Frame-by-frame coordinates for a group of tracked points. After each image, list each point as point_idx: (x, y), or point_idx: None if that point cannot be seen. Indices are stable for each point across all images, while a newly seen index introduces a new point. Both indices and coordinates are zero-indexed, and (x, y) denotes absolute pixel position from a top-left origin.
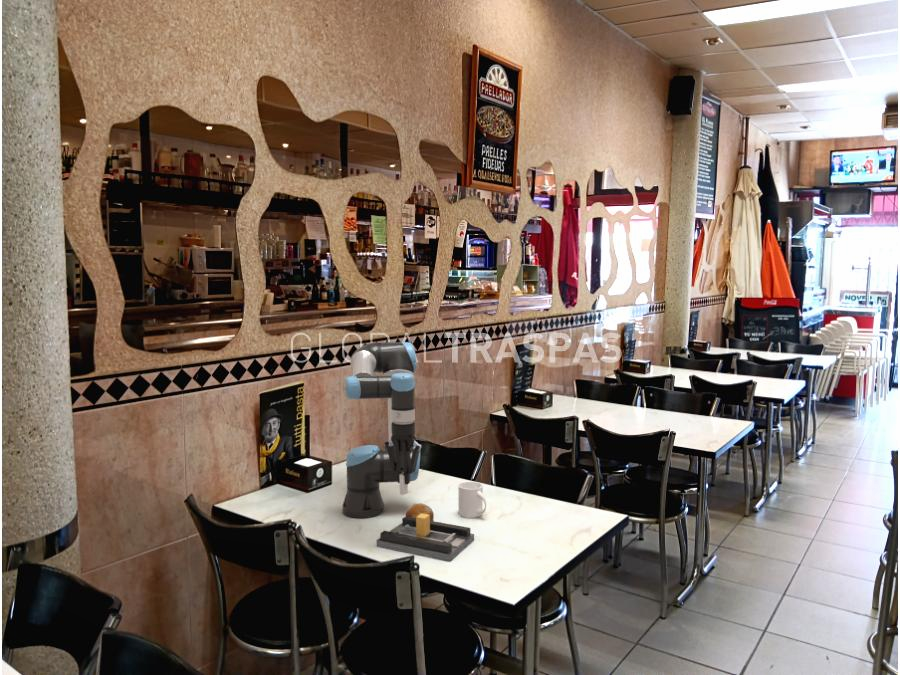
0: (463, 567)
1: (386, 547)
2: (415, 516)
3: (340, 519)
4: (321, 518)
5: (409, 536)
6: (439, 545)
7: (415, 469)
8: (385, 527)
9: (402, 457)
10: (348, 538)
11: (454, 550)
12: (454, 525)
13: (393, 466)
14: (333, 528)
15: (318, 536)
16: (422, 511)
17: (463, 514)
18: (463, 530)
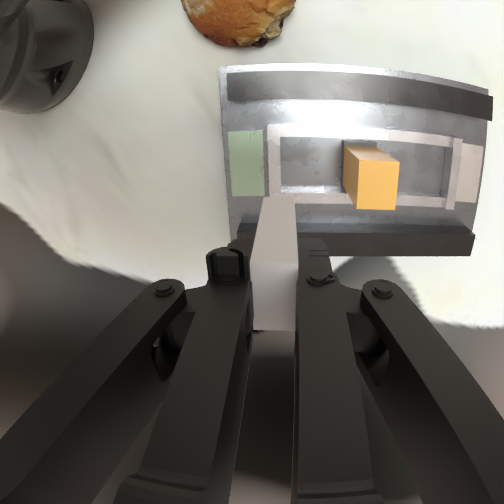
0: (488, 259)
1: None
2: (250, 36)
3: (35, 138)
4: (6, 162)
5: (343, 240)
6: (446, 255)
7: (406, 299)
8: (167, 106)
9: (226, 424)
10: (133, 232)
11: (472, 223)
12: (445, 89)
13: (171, 371)
14: (61, 196)
15: (74, 254)
16: (265, 5)
17: None
18: (479, 117)
